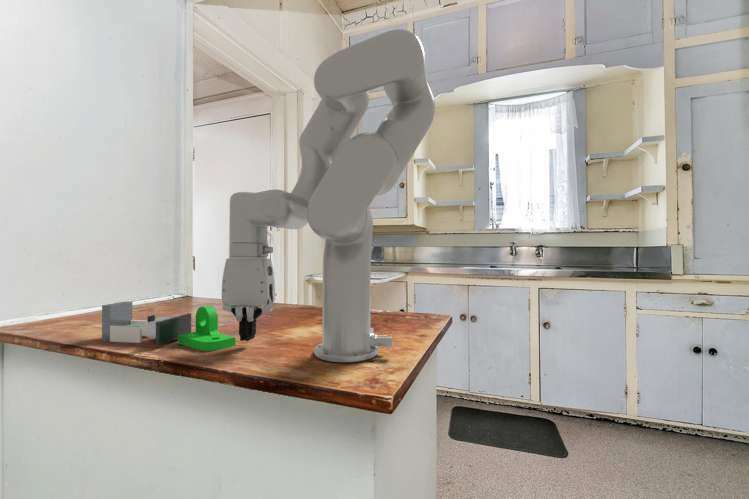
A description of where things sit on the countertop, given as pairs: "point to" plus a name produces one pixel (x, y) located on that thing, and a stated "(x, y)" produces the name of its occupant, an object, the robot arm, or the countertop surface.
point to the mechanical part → (206, 332)
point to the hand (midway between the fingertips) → (247, 339)
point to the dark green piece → (168, 327)
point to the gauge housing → (121, 324)
